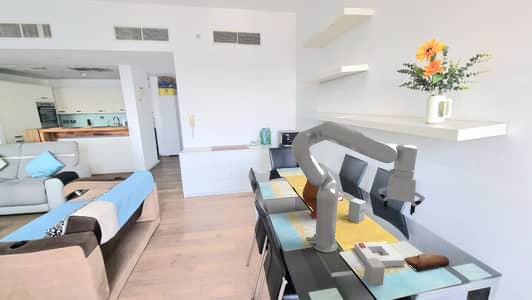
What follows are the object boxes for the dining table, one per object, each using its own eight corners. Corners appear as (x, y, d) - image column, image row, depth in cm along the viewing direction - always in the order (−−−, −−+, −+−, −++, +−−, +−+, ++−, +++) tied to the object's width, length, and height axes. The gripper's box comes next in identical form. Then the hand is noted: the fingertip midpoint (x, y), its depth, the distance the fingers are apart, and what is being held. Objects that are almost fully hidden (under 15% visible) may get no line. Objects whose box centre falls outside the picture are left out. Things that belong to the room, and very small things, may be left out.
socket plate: (368, 267, 96) (369, 259, 96) (354, 248, 110) (354, 241, 110) (404, 266, 98) (405, 258, 97) (385, 247, 111) (385, 240, 111)
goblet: (299, 221, 137) (301, 182, 133) (303, 208, 155) (305, 174, 151) (331, 226, 132) (334, 185, 127) (332, 212, 150) (334, 176, 146)
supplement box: (358, 223, 135) (360, 204, 133) (347, 219, 140) (348, 200, 138) (364, 220, 139) (366, 201, 137) (353, 215, 145) (355, 197, 143)
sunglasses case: (430, 253, 107) (439, 246, 103) (442, 268, 102) (452, 262, 97) (400, 259, 102) (408, 252, 98) (411, 275, 97) (420, 269, 93)
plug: (370, 284, 87) (372, 267, 86) (364, 275, 92) (365, 258, 90) (382, 284, 87) (384, 266, 86) (375, 275, 92) (377, 258, 91)
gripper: (379, 172, 96) (375, 209, 99) (429, 179, 87) (422, 219, 90) (381, 168, 102) (376, 203, 105) (426, 174, 94) (421, 212, 97)
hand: (398, 211), depth 98 cm, fingers open, 9 cm apart
